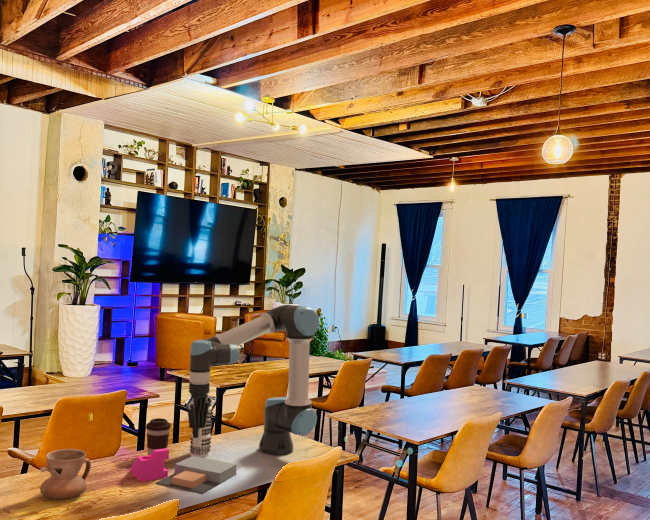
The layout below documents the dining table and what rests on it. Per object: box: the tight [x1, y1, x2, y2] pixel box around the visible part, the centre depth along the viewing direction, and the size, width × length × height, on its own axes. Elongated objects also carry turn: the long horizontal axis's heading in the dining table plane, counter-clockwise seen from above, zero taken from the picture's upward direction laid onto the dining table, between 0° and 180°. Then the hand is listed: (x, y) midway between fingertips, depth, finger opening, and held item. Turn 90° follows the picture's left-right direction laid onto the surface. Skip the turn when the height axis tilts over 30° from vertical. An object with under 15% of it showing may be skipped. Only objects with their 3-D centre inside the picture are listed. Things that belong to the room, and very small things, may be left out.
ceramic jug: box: [39, 448, 92, 501], centre depth 205 cm, size 18×14×14 cm
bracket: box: [129, 447, 170, 482], centre depth 229 cm, size 12×10×10 cm
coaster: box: [172, 470, 207, 488], centre depth 222 cm, size 9×9×2 cm
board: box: [173, 455, 238, 484], centre depth 232 cm, size 12×20×4 cm, turn 68°
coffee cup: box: [145, 417, 172, 455], centre depth 251 cm, size 10×10×15 cm
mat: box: [155, 473, 228, 495], centre depth 224 cm, size 16×20×1 cm
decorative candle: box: [189, 393, 214, 458], centre depth 257 cm, size 9×9×25 cm
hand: (196, 445), depth 226 cm, fingers closed
